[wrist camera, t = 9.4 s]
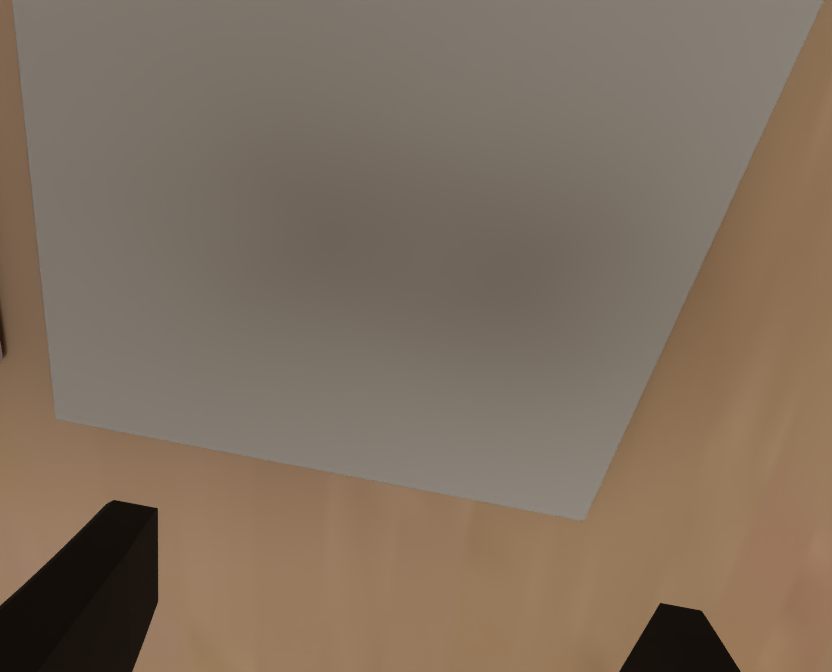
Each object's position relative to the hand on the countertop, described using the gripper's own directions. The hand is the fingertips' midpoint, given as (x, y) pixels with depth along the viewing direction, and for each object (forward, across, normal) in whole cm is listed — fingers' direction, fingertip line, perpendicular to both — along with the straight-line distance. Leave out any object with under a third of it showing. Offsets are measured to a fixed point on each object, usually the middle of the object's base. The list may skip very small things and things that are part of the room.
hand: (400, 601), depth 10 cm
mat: (+10, +2, -1) cm, 11 cm away
